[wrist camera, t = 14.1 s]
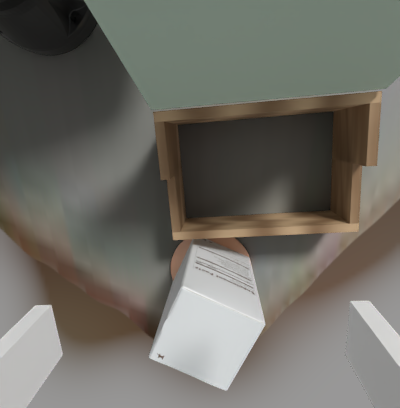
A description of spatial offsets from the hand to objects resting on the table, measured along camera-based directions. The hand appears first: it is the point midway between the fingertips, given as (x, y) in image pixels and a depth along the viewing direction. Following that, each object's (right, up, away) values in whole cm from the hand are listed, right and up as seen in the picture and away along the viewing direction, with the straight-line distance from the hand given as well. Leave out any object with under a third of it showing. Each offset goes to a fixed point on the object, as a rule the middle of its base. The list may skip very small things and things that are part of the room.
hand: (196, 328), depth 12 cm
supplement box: (+2, -4, +29) cm, 29 cm away
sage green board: (+6, +16, +7) cm, 19 cm away
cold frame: (+8, +10, +25) cm, 28 cm away
